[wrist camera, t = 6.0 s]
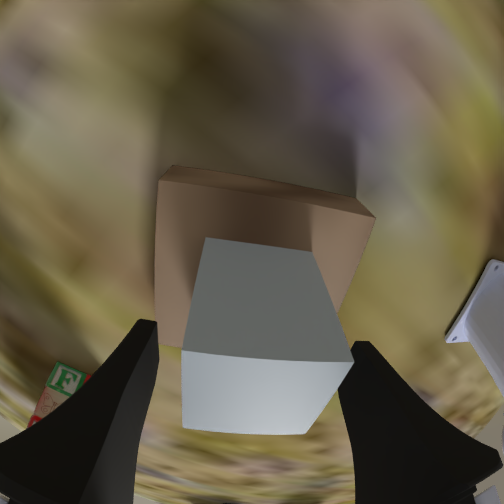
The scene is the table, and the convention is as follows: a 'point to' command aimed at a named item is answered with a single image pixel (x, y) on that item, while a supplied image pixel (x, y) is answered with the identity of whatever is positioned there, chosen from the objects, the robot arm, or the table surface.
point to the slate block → (260, 341)
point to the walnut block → (247, 232)
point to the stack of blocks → (58, 390)
